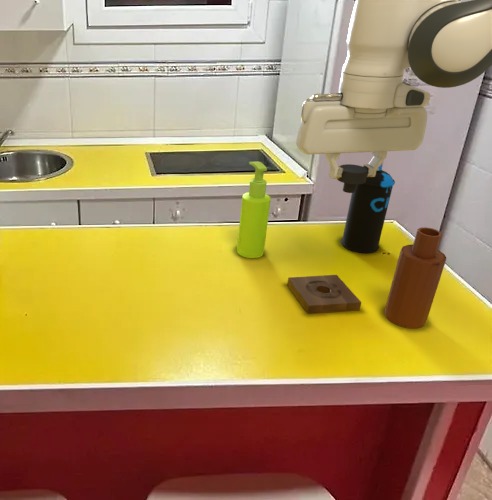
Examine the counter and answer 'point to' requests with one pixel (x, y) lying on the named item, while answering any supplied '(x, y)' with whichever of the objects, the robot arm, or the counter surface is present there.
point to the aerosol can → (368, 213)
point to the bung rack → (323, 294)
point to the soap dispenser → (254, 216)
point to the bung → (352, 177)
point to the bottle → (416, 280)
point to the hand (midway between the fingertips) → (351, 176)
